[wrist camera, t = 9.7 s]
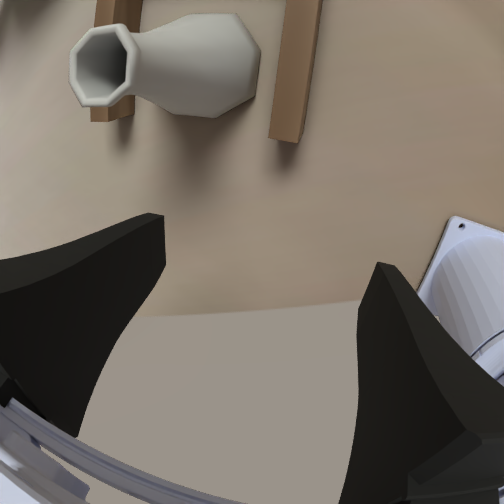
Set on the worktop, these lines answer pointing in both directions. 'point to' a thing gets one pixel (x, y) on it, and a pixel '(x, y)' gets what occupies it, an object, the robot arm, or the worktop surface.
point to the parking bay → (288, 74)
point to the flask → (169, 65)
